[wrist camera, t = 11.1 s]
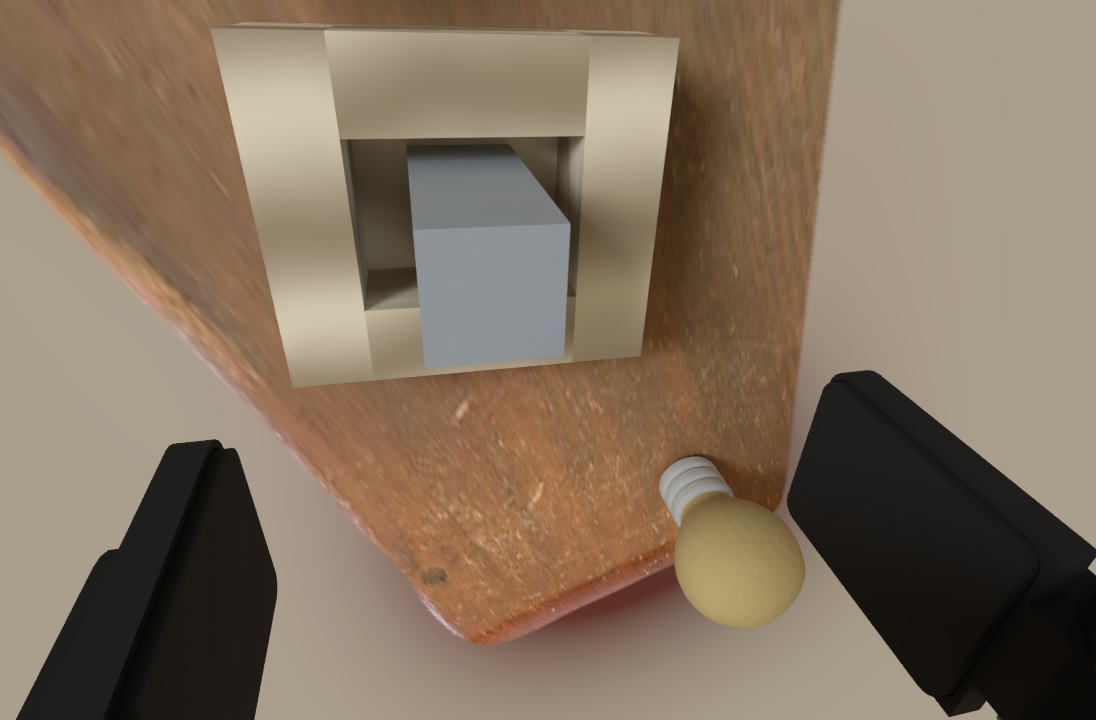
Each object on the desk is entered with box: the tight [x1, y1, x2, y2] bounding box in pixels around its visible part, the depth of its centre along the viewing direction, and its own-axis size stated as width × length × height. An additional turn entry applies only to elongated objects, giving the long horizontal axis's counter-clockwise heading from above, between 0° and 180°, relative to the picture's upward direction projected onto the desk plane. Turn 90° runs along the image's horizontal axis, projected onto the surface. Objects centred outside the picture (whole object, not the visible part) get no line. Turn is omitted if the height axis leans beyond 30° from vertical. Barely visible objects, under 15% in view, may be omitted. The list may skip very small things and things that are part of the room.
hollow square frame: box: [211, 22, 680, 388], centre depth 23 cm, size 12×14×5 cm
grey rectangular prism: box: [406, 144, 571, 368], centre depth 20 cm, size 4×4×10 cm
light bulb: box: [659, 456, 805, 628], centre depth 33 cm, size 6×6×10 cm
